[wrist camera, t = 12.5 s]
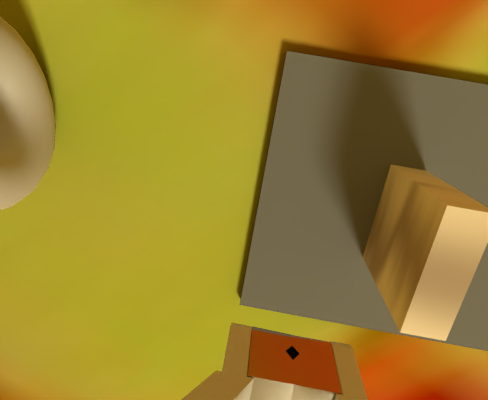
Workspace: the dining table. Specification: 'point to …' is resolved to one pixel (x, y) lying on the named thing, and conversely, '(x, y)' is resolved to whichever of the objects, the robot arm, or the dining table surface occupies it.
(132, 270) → the dining table surface
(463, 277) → the block
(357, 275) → the mat
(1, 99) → the donut
